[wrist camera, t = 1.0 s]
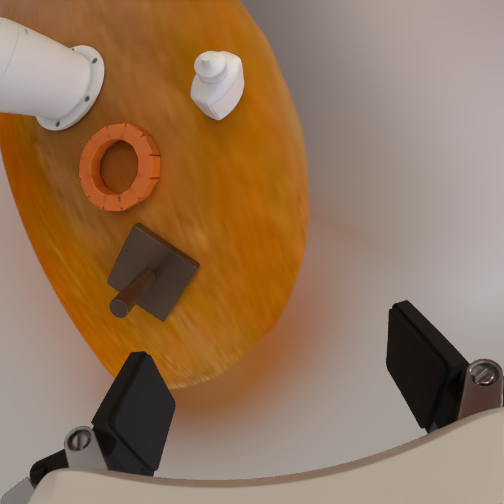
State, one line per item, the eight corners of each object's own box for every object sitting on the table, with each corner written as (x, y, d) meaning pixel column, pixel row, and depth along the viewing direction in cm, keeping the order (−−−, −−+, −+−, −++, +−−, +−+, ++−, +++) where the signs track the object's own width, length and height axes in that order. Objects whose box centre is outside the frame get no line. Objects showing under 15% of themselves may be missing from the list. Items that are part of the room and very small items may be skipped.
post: (111, 278, 33) (71, 313, 24) (139, 222, 31) (96, 243, 21) (166, 316, 35) (141, 362, 25) (200, 263, 32) (179, 301, 23)
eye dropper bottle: (256, 100, 27) (257, 60, 15) (212, 125, 28) (186, 99, 16) (236, 71, 26) (226, 20, 14) (193, 96, 27) (159, 57, 15)
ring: (78, 182, 29) (67, 184, 27) (114, 113, 27) (105, 110, 25) (134, 223, 31) (125, 227, 29) (176, 151, 29) (170, 149, 26)
